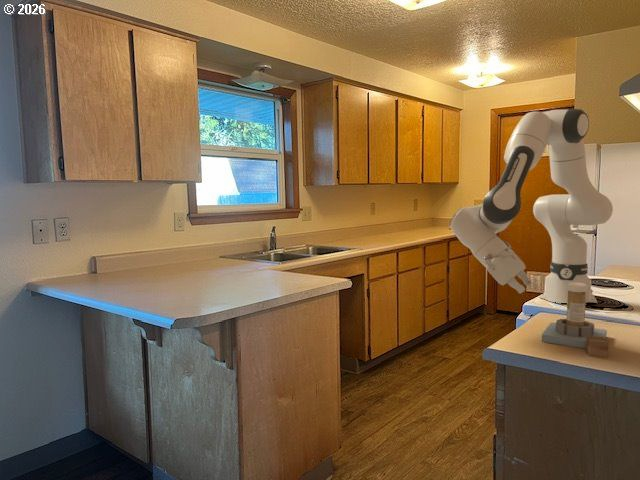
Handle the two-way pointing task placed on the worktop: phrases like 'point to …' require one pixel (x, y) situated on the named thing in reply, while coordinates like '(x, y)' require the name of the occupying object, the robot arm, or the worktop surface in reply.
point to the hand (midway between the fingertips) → (526, 288)
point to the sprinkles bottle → (576, 304)
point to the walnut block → (596, 346)
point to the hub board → (570, 333)
